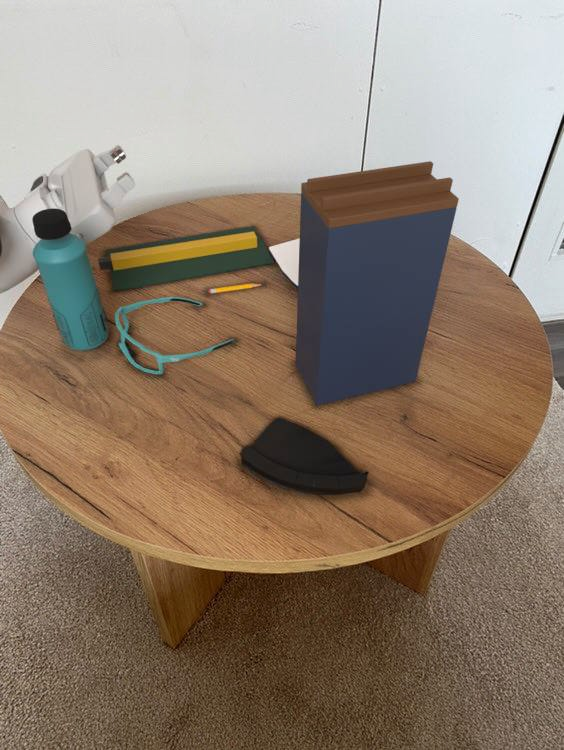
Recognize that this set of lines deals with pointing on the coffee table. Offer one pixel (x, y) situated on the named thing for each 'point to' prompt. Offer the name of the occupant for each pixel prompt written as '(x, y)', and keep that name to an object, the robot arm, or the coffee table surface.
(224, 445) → the coffee table surface
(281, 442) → the curved wedge
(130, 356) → the sunglasses
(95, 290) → the beverage bottle
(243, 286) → the pencil
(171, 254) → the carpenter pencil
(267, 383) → the coffee table surface
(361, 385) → the blue tall block
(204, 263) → the rubber mat
